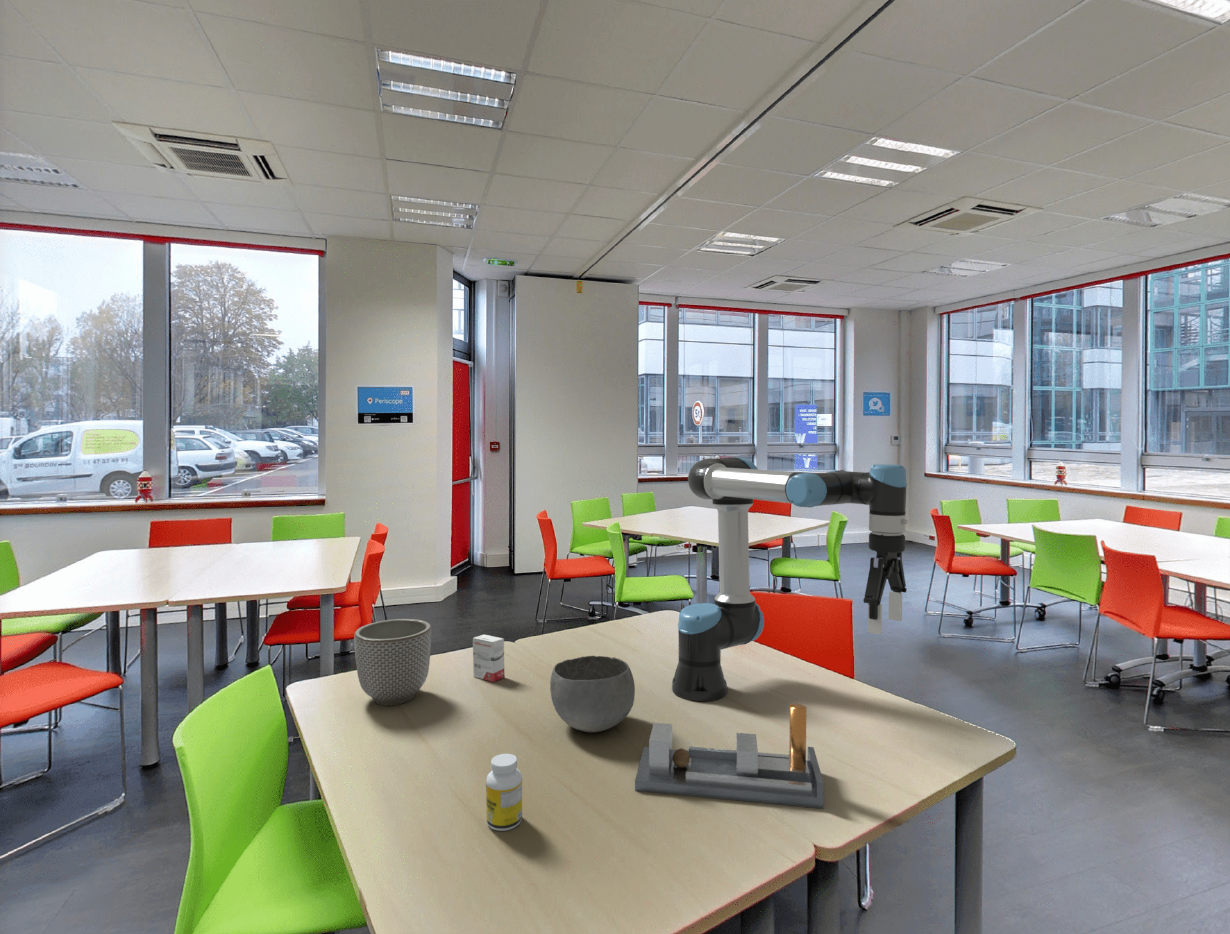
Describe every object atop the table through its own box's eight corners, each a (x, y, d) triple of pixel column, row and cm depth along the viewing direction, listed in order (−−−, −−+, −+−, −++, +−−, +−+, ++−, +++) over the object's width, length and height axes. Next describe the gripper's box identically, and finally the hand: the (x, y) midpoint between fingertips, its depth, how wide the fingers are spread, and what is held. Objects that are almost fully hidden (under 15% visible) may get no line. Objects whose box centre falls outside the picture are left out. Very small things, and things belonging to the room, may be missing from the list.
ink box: (505, 677, 184) (505, 638, 184) (494, 682, 180) (493, 642, 180) (484, 671, 189) (483, 633, 188) (472, 676, 185) (472, 637, 184)
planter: (338, 706, 164) (337, 635, 163) (391, 680, 182) (390, 615, 182) (398, 718, 157) (396, 643, 156) (447, 690, 175) (446, 622, 174)
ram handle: (736, 780, 124) (737, 710, 123) (736, 760, 131) (736, 695, 131) (810, 786, 121) (811, 716, 121) (805, 766, 129) (806, 700, 128)
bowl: (647, 717, 158) (647, 658, 157) (613, 753, 139) (613, 687, 138) (576, 702, 166) (575, 647, 166) (534, 735, 148) (534, 673, 147)
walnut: (668, 766, 130) (668, 749, 130) (681, 760, 132) (681, 743, 132) (681, 773, 127) (681, 755, 127) (693, 767, 129) (693, 750, 129)
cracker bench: (634, 790, 124) (634, 746, 124) (644, 755, 138) (644, 715, 138) (823, 808, 118) (823, 762, 118) (813, 770, 132) (813, 728, 131)
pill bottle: (488, 812, 117) (488, 751, 117) (523, 810, 118) (523, 750, 117) (484, 834, 111) (483, 769, 110) (521, 831, 111) (520, 768, 111)
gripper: (885, 541, 128) (883, 643, 129) (921, 528, 147) (919, 617, 148) (848, 537, 133) (847, 635, 134) (888, 525, 152) (886, 611, 153)
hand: (885, 626), depth 141 cm, fingers open, 13 cm apart
